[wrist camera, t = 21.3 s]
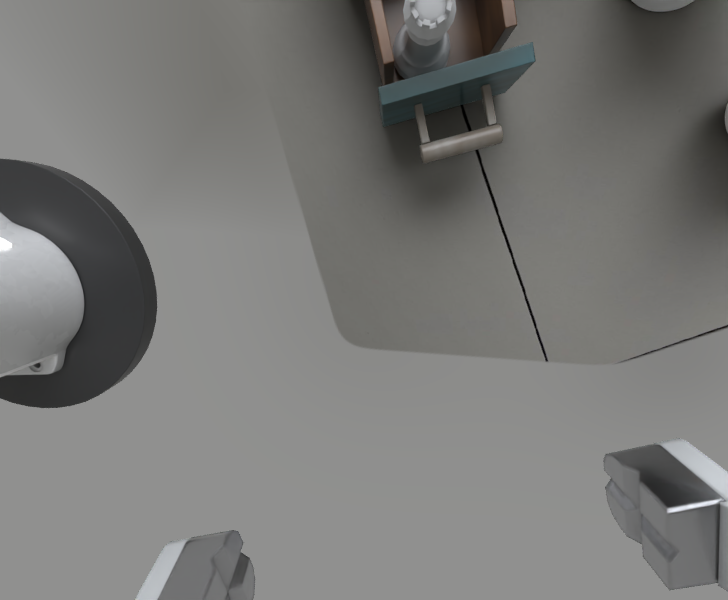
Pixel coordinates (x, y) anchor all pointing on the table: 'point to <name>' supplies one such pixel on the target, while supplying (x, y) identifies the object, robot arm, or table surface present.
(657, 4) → the milk bottle
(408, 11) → the rook chess piece
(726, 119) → the sauce bottle
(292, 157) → the table surface
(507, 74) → the drawer
